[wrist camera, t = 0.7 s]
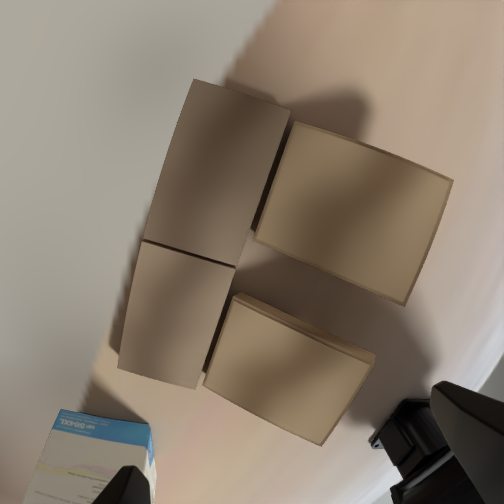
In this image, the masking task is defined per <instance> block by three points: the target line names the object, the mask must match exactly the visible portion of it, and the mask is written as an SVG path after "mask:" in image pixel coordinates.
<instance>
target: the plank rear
mask: <svg viewBox="0 0 504 504" xmlns="http://www.w3.org/2000/svg"><path fill="white" fill-rule="evenodd" d="M375 360H376V354H374V353H372V352H369V351H367V350H365V349H363V348H360V347H358V346H356V345H354V344H351V343H349V342H347V341H345V340H343V339H340V338H338V337H336V336H334V335H332V334H329V333H327V332H325V331H323V330H321V329H318V328H316V327H314V326H312V325H310V324H308V323H306V322H303V321H301V320H299V319H297V318H295V317H293V316H291V315H288V314H286V313H284V312H282V311H280V310H278V309H276V308H274V307H272V306H270V305H268V304H265V303H263V302H261V301H259V300H257V299H255V298H253V297H251V296H249V295H247V294H245V293H243V292H240V293H238V294H236V295H234V296H233V298H232V301H231V304H230V306H229V309H228V312H227V315H226V318H225V321H224V324H223V327H222V329H221V332H220V335H219V338H218V341H217V344H216V347H215V350H214V352H213V355H212V358H211V361H210V364H209V367H208V370H207V373H206V376H205V378H204V381H203V384H202V385H203V386H204V387H206V388H208V389H209V390H211V391H213V392H215V393H216V394H218V395H220V396H222V397H223V398H225V399H227V400H229V401H230V402H232V403H234V404H236V405H238V406H239V407H241V408H243V409H245V410H247V411H249V412H250V413H252V414H254V415H256V416H258V417H260V418H262V419H264V420H266V421H268V422H270V423H272V424H274V425H276V426H278V427H280V428H282V429H284V430H286V431H288V432H290V433H292V434H294V435H297V436H299V437H301V438H303V439H305V440H308V441H310V442H312V443H314V444H316V445H319V446H321V447H322V445H323V444H324V442H325V441H326V440H327V438H328V437H329V435H330V434H331V433H332V431H333V430H334V428H335V427H336V425H337V424H338V422H339V421H340V419H341V418H342V416H343V415H344V413H345V412H346V410H347V409H348V407H349V406H350V404H351V402H352V401H353V399H354V398H355V396H356V394H357V393H358V391H359V390H360V388H361V386H362V385H363V383H364V381H365V380H366V378H367V376H368V375H369V373H370V371H371V369H372V368H373V366H374V364H375Z"/></svg>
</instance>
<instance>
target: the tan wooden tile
mask: <svg viewBox="0 0 504 504" xmlns="http://www.w3.org/2000/svg"><path fill="white" fill-rule="evenodd" d="M290 113H291V111H290V110H288V109H285V108H283V107H280V106H277V105H275V104H272V103H269V102H266V101H263V100H261V99H258V98H255V97H252V96H249V95H246V94H243V93H240V92H237V91H234V90H231V89H227V88H224V87H221V86H217V85H214V84H210V83H207V82H204V81H200V80H197V79H193V82H192V84H191V87H190V89H189V92H188V95H187V97H186V100H185V103H184V105H183V109H182V111H181V114H180V117H179V120H178V122H177V125H176V128H175V131H174V134H173V137H172V140H171V143H170V146H169V149H168V152H167V155H166V158H165V161H164V164H163V168H162V171H161V174H160V177H159V181H158V184H157V187H156V191H155V194H154V198H153V201H152V205H151V209H150V212H149V216H148V220H147V223H146V227H145V231H144V235H143V238H144V240H143V241H142V243H141V247H140V251H139V256H138V260H137V264H136V269H135V273H134V278H133V282H132V287H131V292H130V297H129V302H128V307H127V312H126V317H125V323H124V328H123V334H122V340H121V346H120V352H119V359H118V366H117V368H119V369H122V370H125V371H128V372H131V373H135V374H138V375H141V376H145V377H148V378H152V379H155V380H159V381H163V382H167V383H170V384H174V385H178V386H182V387H186V388H190V389H196V386H197V383H198V380H199V377H200V374H201V371H202V368H203V365H204V362H205V359H206V356H207V353H208V350H209V347H210V344H211V341H212V338H213V335H214V332H215V329H216V326H217V323H218V320H219V317H220V314H221V311H222V309H223V306H224V303H225V300H226V297H227V294H228V291H229V288H230V285H231V282H232V279H233V276H234V273H235V270H236V268H235V266H237V265H238V262H239V259H240V256H241V253H242V250H243V247H244V244H245V241H246V238H247V236H248V233H249V230H250V227H251V224H252V221H253V218H254V215H255V213H256V210H257V207H258V204H259V201H260V198H261V195H262V192H263V190H264V187H265V184H266V181H267V178H268V175H269V172H270V170H271V167H272V164H273V161H274V158H275V155H276V153H277V150H278V147H279V144H280V141H281V138H282V136H283V133H284V130H285V127H286V124H287V121H288V119H289V116H290Z"/></svg>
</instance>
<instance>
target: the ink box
mask: <svg viewBox="0 0 504 504" xmlns="http://www.w3.org/2000/svg"><path fill="white" fill-rule="evenodd" d="M125 465H135V466H137V467H138V468H139V470H140V471H141V472H142V473H143V474H144V475H145V477H146V478H147V479H148V481H149V484H150V496H151V504H154V494H155V485H156V478H157V476H156V468H155V461H154V454H153V445H152V437H151V429H150V426H149V424H142V423H135V422H128V421H121V420H114V419H108V418H102V417H97V416H93V415H87V414H83V413H78V412H73V411H68V410H63V409H61V410H60V412H59V414H58V416H57V418H56V421H55V423H54V425H53V427H52V430H51V432H50V434H49V437H48V439H47V441H46V444H45V446H44V448H43V451H42V453H41V456H40V458H39V461H38V464H37V466H36V468H35V471H34V473H33V476H32V478H31V481H30V484H29V487H28V489H27V492H26V495H25V497H24V500H23V503H22V504H92V502H93V501H94V500H95V499H96V498H97V496H98V495H99V494H100V493H101V492H102V490H103V489H104V488H105V487H106V485H107V484H108V483H109V482H110V481H111V479H112V478H113V477H114V476H115V475H116V473H117V472H118V471H119V470H120V468H121V467H123V466H125Z"/></svg>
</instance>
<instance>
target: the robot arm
mask: <svg viewBox="0 0 504 504" xmlns="http://www.w3.org/2000/svg"><path fill="white" fill-rule="evenodd" d="M371 447H372V448H373V449H385V451H386V453H387V454H388V456H389V458H390V460H391V462H392V463H393V465H394V466H396V467H397V469H398V471H399V472H400V474H401V476H402V478H403V480H402V481H401V482H399V483H398V484H396V485H394V486H392V487H391V488H390V491H391V494H392V495H391V497H392V500H393V503H394V504H504V402H502V401H499V400H496V399H493V398H490V397H488V396H485V395H482V394H479V393H477V392H474V391H472V390H469V389H466V388H464V387H461V386H458V385H456V384H453V383H450V382H448V381H441V382H439V383H437V384H435V385H434V386H433V387H432V391H431V398H430V400H424V399H405V400H403V401H402V402H401V403H400V405H399V406H398V408H397V409H396V411H395V412H394V414H393V415H392V416H391V418H390V419H389V421H388V422H387V423H386V425H385V426H384V427H383V429H382V430H381V431H380V433H379V434H378V435H377V437H376V438H375V439H374V441H373V442H372V443H371ZM92 504H151V496H150V484H149V481H148V479H147V478H146V477H145V475H144V474H143V473H142V472H141V471H140V470H139V468H138V467H137V466H135V465H125V466H123V467H121V468H120V470H119V471H118V472H117V473H116V475H115V476H114V477H113V478H112V479H111V481H110V482H109V483H108V484H107V485H106V487H105V488H104V489H103V490H102V492H101V493H100V494H99V495H98V496H97V498H96V499H95V500H94V501H93V502H92Z"/></svg>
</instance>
